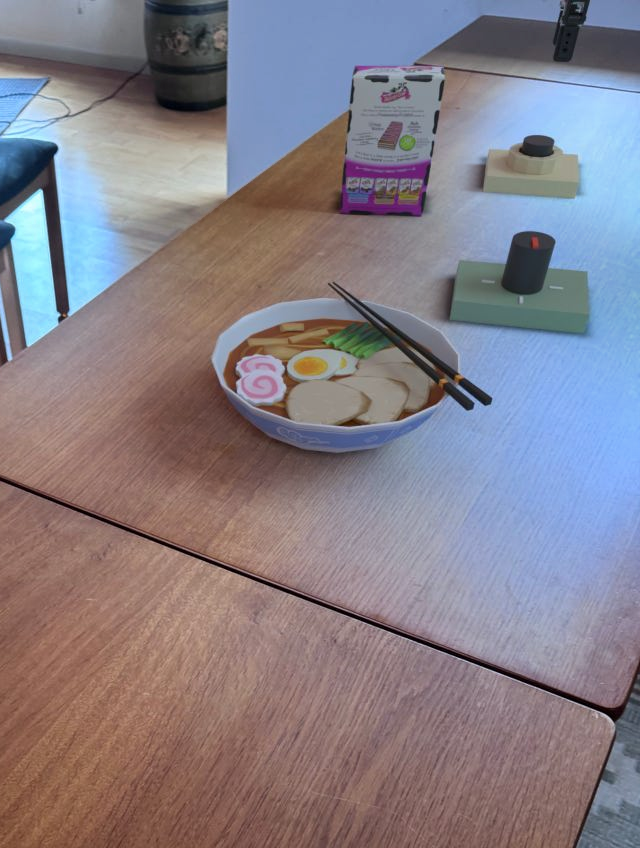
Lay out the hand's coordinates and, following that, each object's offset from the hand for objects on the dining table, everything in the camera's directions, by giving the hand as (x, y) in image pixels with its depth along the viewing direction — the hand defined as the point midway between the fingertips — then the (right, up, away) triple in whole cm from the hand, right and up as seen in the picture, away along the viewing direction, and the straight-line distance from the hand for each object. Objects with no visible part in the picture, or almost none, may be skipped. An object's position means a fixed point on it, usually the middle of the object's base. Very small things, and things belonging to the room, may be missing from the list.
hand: (561, 52), depth 115 cm
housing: (+1, -11, +12) cm, 16 cm away
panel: (-11, -37, -13) cm, 41 cm away
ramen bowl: (-35, -54, -26) cm, 69 cm away
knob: (-11, -35, -15) cm, 40 cm away
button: (0, -8, +9) cm, 12 cm away
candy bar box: (-21, -16, +7) cm, 28 cm away
